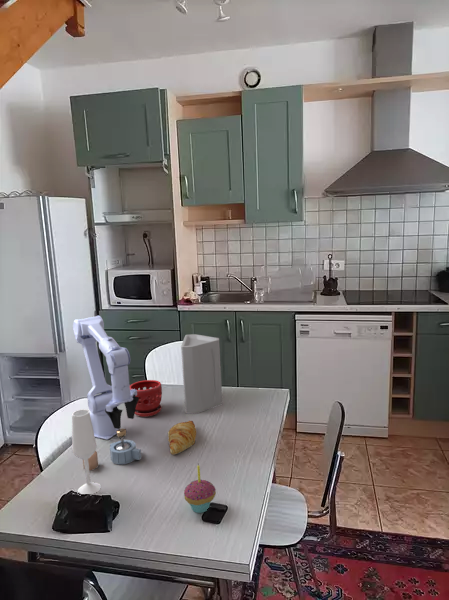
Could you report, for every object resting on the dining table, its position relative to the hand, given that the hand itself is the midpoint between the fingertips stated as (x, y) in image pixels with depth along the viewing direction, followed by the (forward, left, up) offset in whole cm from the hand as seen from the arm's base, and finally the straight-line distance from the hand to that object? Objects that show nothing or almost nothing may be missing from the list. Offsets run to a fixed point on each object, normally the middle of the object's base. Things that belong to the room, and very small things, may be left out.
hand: (124, 423), depth 148 cm
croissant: (+15, +12, -11) cm, 22 cm away
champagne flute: (+3, -22, -11) cm, 25 cm away
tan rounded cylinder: (-5, -12, -10) cm, 17 cm away
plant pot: (-11, +29, -11) cm, 33 cm away
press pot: (+2, -4, -10) cm, 11 cm away
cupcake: (+38, -18, -11) cm, 43 cm away
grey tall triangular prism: (+8, +44, -11) cm, 46 cm away
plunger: (+2, -4, -7) cm, 8 cm away
